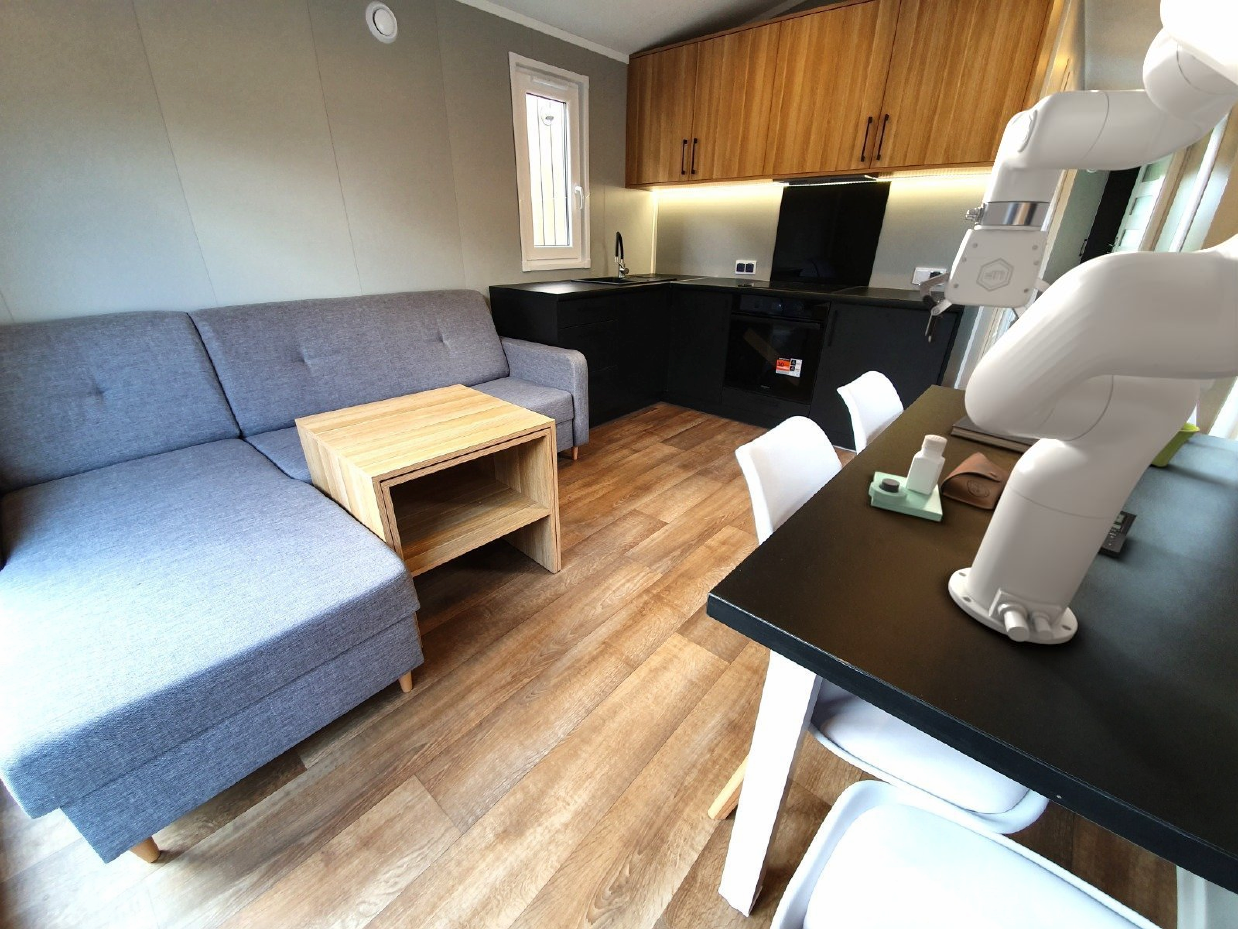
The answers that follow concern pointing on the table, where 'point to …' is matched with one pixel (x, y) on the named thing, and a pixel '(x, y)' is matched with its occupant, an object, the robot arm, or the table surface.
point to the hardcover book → (991, 436)
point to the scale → (905, 498)
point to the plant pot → (1175, 444)
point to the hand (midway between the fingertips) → (967, 345)
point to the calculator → (1117, 534)
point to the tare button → (890, 485)
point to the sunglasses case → (976, 482)
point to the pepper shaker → (927, 465)
